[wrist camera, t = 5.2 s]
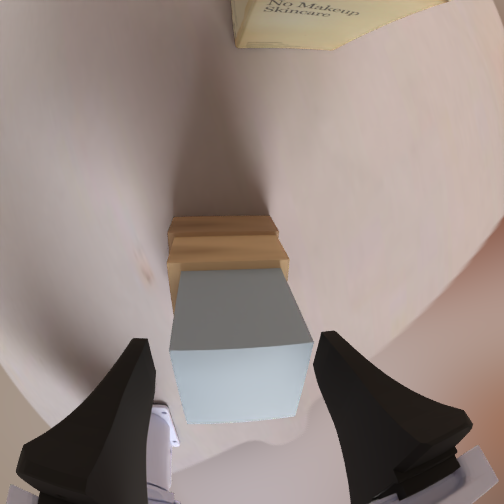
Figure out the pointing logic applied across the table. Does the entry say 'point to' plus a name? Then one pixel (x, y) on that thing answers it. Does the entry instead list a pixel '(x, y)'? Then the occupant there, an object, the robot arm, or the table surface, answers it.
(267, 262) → the tower mid
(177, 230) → the tower base
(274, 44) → the skincare box
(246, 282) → the blue block
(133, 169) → the table surface
